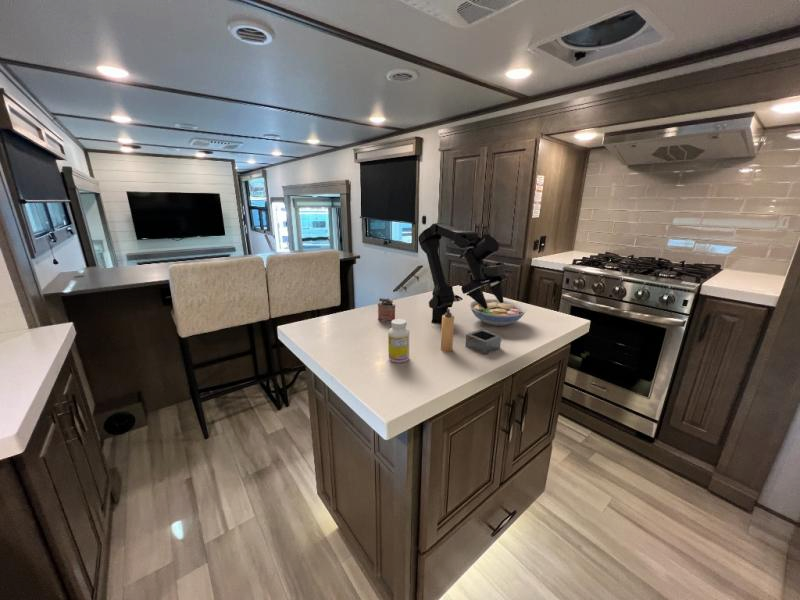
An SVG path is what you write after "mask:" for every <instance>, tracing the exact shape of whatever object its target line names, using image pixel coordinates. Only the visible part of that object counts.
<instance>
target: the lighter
mask: <svg viewBox="0 0 800 600" xmlns="http://www.w3.org/2000/svg"><path fill="white" fill-rule="evenodd" d="M378 301H379V302H378V303H377V307H378V308H377V313H378V315H377V316H378V317H377V321H378V320H379V322H381V321H384V322H383V323H387V322H389V324H391V321H392V320H394V319H396V304H395V303H393V302H394V300H393V299H390V298H389V297H387V298H384V297H379V298H378Z"/></svg>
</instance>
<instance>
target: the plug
mask: <svg viewBox="0 0 800 600" xmlns="http://www.w3.org/2000/svg"><path fill="white" fill-rule="evenodd" d="M454 326H455V316H454V315H453V314H452V312H451V310H450V308H448V309H447V313H445V315H442V323H441V330H440V331H441V333H440V335H441V336H440V350H441V351H442V352H445V353H450V352H452V351H453V345H454V344H453V343H454V330H455V329H454Z"/></svg>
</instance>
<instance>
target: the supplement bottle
mask: <svg viewBox="0 0 800 600" xmlns="http://www.w3.org/2000/svg"><path fill="white" fill-rule="evenodd" d="M390 324H391V328H389V329H388V336H387V337H388V339H387V340H388V341H387V342H388V345H387V346H388V359H389V361H391V362H393V363H398V364H399V363H400V364H401V363H405V362H407V361H409V359H410V330H409V328H407V320H405V319H403V318H395V319H394V320H392V321H391V323H390Z"/></svg>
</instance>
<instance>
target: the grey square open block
mask: <svg viewBox="0 0 800 600" xmlns="http://www.w3.org/2000/svg"><path fill="white" fill-rule="evenodd" d="M501 343H502V336H501V335H499V334H496V333H493V332H492V331H488V330H486V329H482V328H480V329H478V330H474V331H472V332H469V333H466V335H465V347H466V348H468V349H471V350H473V351H475V352H478V353H480V354H482V355H484V356H486V355H488V354H490V353H492V351H493V352H495V351H497V350H499V349H501V345H502V344H501Z"/></svg>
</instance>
